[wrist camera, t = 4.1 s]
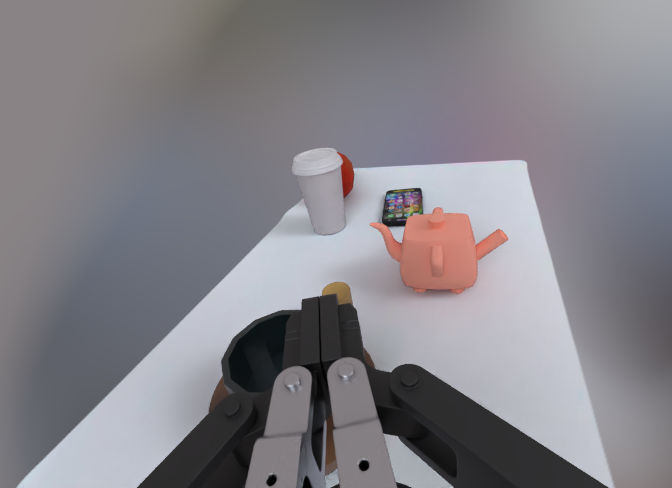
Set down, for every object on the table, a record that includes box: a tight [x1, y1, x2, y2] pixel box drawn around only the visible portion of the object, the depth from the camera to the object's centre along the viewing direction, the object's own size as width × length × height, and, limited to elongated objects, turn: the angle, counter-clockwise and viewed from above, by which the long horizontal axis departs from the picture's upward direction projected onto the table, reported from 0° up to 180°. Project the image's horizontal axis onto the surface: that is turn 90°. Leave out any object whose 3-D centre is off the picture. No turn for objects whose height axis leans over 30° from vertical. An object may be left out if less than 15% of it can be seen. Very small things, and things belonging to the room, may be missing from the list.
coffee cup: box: [292, 148, 346, 235], centre depth 67 cm, size 10×10×15 cm
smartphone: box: [382, 188, 423, 226], centre depth 72 cm, size 8×1×15 cm
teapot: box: [370, 207, 508, 293], centre depth 49 cm, size 14×12×10 cm
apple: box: [337, 152, 354, 198], centre depth 80 cm, size 10×10×12 cm
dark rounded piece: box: [208, 282, 375, 476], centre depth 34 cm, size 18×18×15 cm
